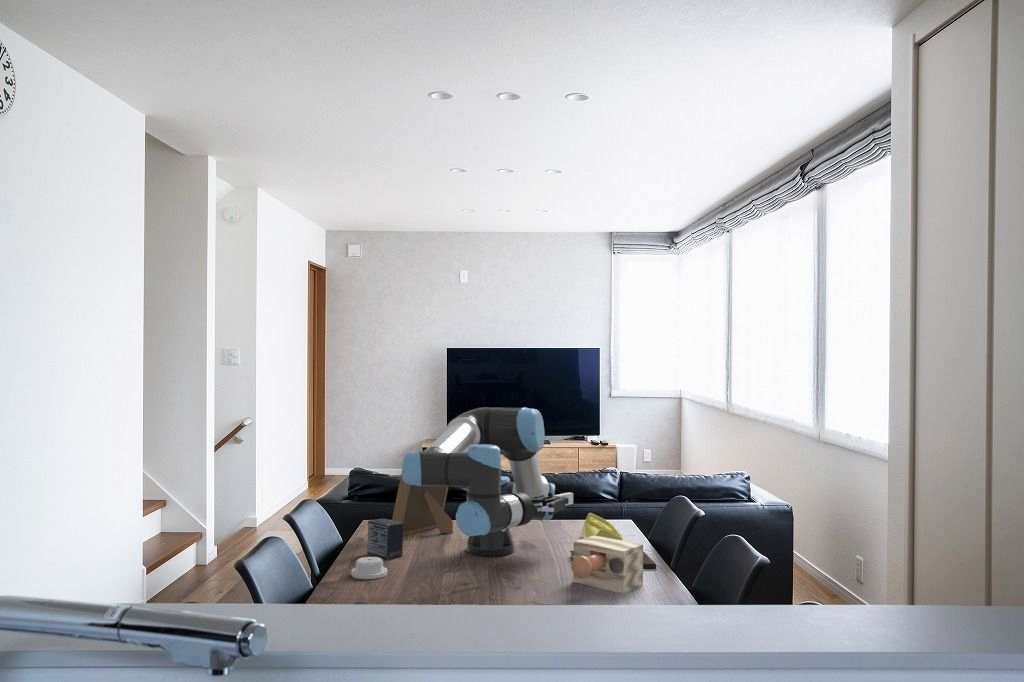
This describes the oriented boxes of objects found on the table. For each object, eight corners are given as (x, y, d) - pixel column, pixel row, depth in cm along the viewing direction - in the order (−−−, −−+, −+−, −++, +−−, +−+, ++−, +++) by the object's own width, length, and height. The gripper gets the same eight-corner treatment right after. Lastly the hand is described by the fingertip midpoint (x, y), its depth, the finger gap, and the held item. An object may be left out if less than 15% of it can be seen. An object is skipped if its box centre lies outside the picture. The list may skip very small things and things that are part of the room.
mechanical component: (343, 576, 205) (370, 582, 200) (343, 560, 206) (370, 566, 200) (368, 568, 214) (394, 574, 208) (368, 553, 214) (394, 558, 209)
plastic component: (624, 539, 243) (598, 526, 242) (614, 559, 243) (588, 546, 242) (610, 522, 263) (586, 510, 262) (601, 540, 263) (577, 528, 262)
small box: (404, 556, 227) (404, 522, 227) (387, 560, 222) (387, 525, 223) (383, 550, 234) (383, 517, 235) (366, 554, 229) (367, 520, 230)
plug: (588, 580, 189) (589, 558, 189) (571, 576, 193) (571, 554, 193) (612, 571, 198) (612, 550, 198) (595, 567, 201) (595, 547, 202)
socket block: (621, 594, 191) (622, 551, 192) (571, 582, 202) (572, 541, 202) (642, 585, 200) (643, 544, 200) (593, 574, 210) (593, 535, 210)
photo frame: (389, 535, 255) (391, 462, 255) (431, 524, 272) (433, 457, 273) (420, 542, 246) (423, 467, 247) (462, 531, 264) (464, 461, 264)
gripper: (490, 522, 173) (550, 509, 192) (533, 531, 165) (592, 516, 183) (490, 490, 174) (550, 480, 192) (534, 497, 165) (592, 486, 184)
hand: (570, 498), depth 188 cm, fingers closed
